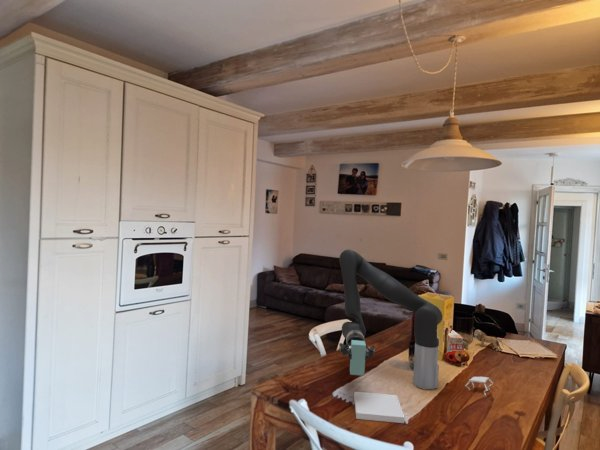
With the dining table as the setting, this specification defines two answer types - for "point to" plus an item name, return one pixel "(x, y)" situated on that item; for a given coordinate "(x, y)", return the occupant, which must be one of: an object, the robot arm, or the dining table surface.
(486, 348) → the dining table surface
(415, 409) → the dining table surface
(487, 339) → the lion figurine
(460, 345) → the white printed carton
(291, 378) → the dining table surface
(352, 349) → the teal block
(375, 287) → the robot arm
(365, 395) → the white board
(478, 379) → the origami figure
